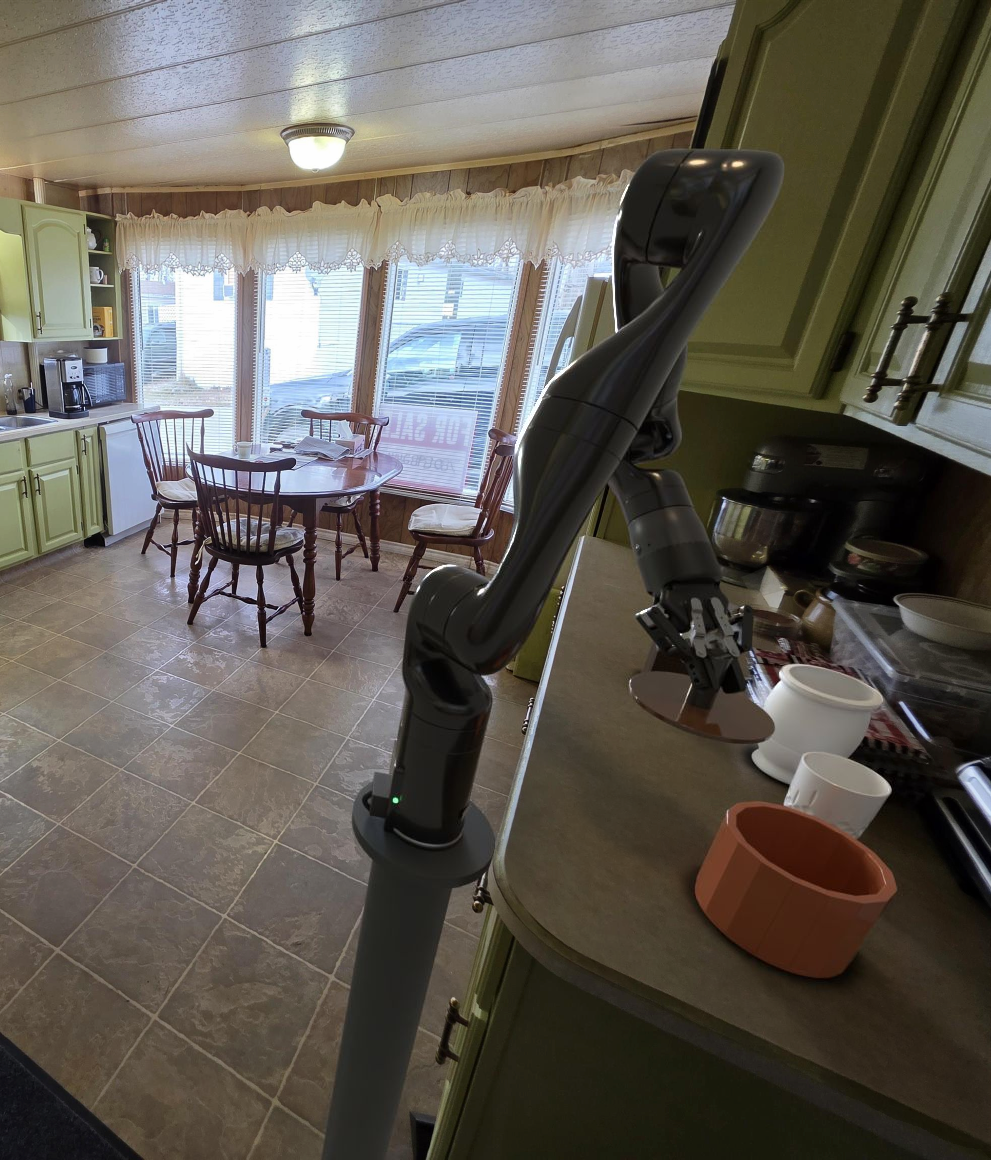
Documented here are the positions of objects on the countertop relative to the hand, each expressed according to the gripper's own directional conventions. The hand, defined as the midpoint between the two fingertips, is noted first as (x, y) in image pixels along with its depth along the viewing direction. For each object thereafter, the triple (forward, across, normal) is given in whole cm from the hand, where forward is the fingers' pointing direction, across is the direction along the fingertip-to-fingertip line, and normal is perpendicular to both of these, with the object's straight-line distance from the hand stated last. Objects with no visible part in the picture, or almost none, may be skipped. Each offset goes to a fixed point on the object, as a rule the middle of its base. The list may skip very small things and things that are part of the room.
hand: (722, 692), depth 68 cm
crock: (+23, +3, +7) cm, 25 cm away
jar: (+8, +29, +22) cm, 37 cm away
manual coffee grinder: (-5, +26, +35) cm, 44 cm away
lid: (+1, 0, +4) cm, 4 cm away
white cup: (+16, +20, +14) cm, 29 cm away
